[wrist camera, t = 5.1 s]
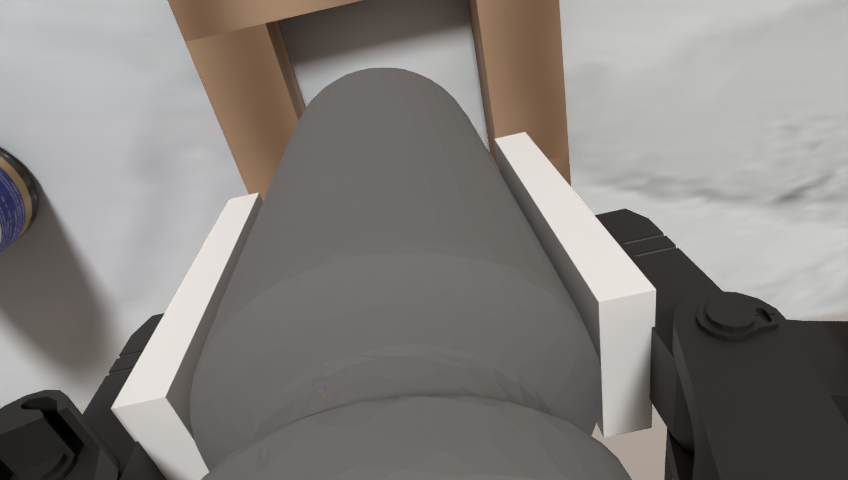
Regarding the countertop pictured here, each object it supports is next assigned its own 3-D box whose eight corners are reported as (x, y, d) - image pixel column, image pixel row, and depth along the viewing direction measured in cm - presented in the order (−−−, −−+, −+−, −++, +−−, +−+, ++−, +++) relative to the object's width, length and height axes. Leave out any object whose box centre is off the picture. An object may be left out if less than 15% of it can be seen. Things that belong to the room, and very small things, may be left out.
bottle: (513, 146, 16) (1038, 884, 4) (397, 268, 18) (462, 1037, 5) (369, 20, 14) (346, 767, 1) (254, 173, 16) (-224, 1098, 3)
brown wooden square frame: (291, 253, 28) (284, 278, 26) (169, -52, 21) (146, -52, 19) (558, 195, 28) (572, 216, 26) (532, -140, 20) (549, -149, 18)
